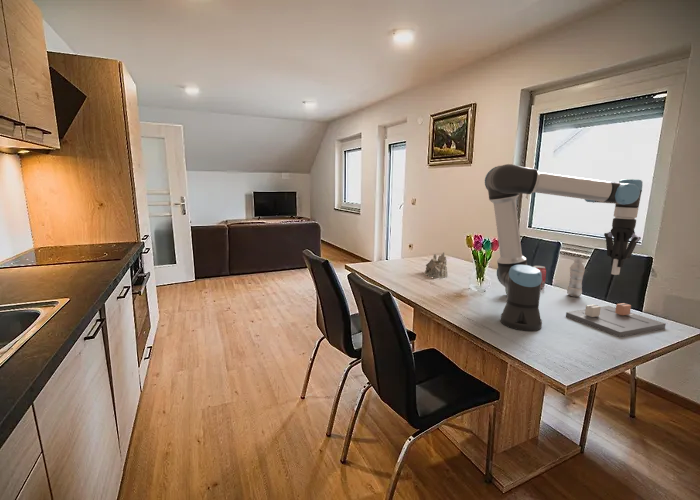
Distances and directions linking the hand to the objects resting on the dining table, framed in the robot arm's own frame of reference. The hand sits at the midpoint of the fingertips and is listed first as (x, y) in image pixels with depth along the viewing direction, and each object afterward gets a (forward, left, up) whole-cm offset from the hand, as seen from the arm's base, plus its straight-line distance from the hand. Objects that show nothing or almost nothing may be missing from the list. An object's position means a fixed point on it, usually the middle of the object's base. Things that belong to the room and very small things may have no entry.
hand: (615, 274), depth 144 cm
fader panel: (-3, -4, -19) cm, 20 cm away
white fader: (-10, 0, -17) cm, 20 cm away
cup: (-16, +37, -20) cm, 45 cm away
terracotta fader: (+4, -3, -17) cm, 17 cm away
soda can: (+9, +45, -20) cm, 50 cm away
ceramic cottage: (-30, +87, -20) cm, 95 cm away
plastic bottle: (+14, +27, -19) cm, 36 cm away
